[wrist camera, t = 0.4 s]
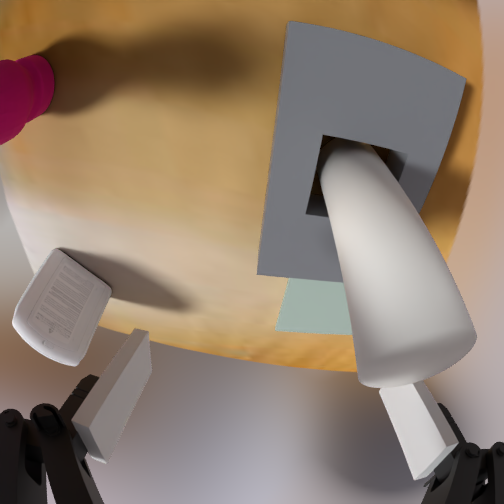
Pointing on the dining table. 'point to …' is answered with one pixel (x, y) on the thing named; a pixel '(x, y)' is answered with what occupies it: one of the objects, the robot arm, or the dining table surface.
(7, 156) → the dining table surface
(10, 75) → the pink bowling pin
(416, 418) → the robot arm
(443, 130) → the grey holed plate
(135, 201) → the dining table surface
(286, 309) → the pad
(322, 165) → the plug
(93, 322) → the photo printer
